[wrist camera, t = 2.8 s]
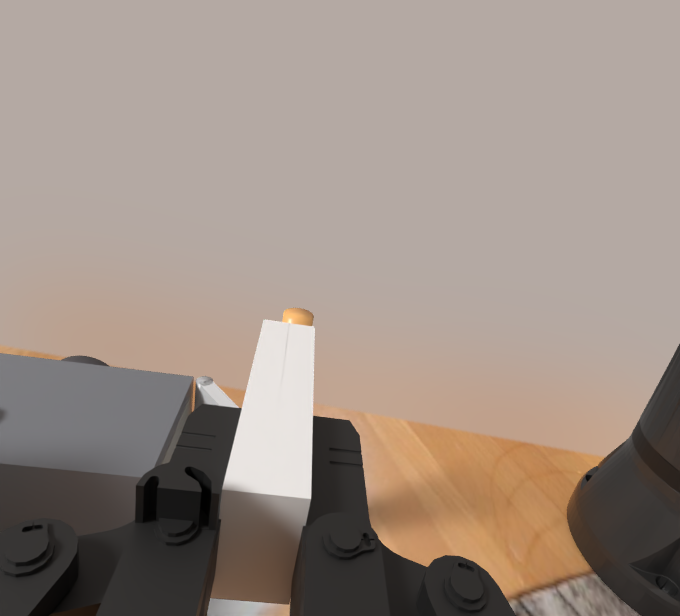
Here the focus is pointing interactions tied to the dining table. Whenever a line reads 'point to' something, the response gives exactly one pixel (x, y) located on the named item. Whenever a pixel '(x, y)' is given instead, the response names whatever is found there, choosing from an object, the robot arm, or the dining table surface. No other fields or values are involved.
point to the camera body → (83, 438)
